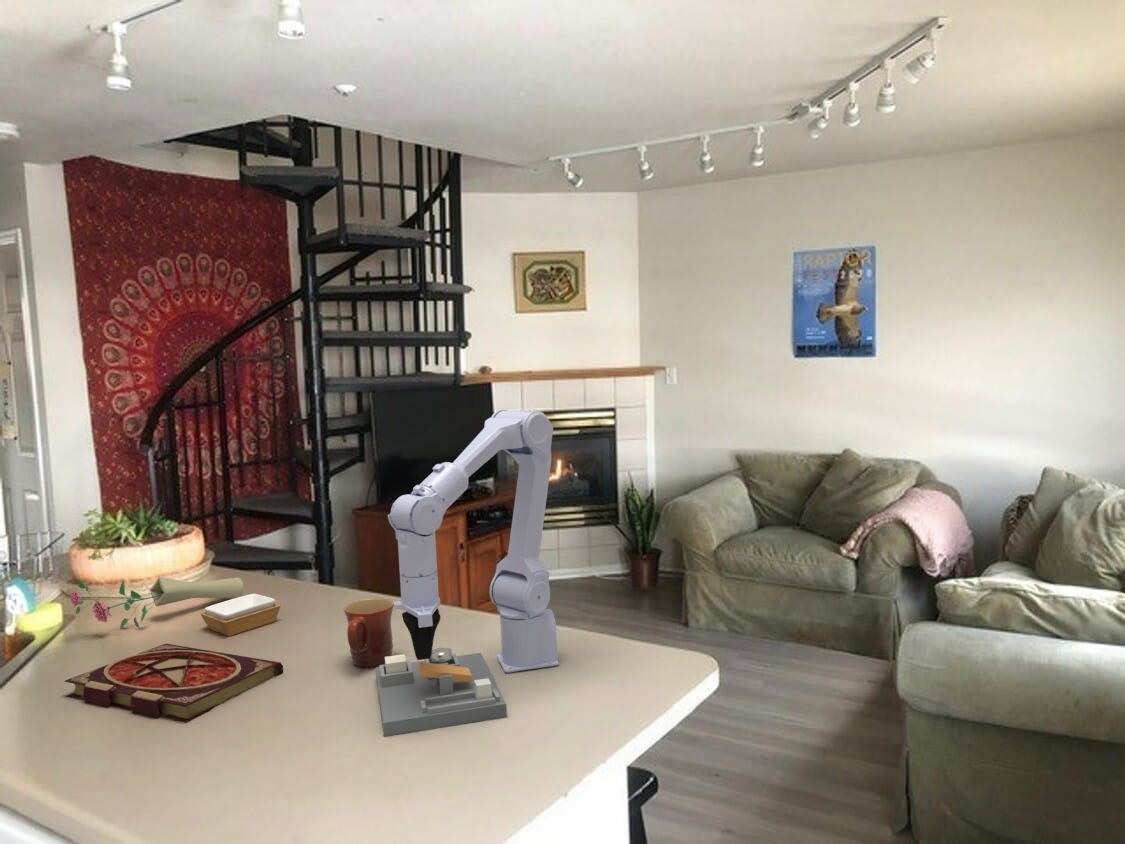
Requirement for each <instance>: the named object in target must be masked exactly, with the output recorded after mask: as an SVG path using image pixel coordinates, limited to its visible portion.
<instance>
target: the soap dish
mask: <svg viewBox="0 0 1125 844" xmlns="http://www.w3.org/2000/svg"><path fill="white" fill-rule="evenodd" d="M280 609H281V605H280V604H279V603H278V604H277V603H276V599H275V598H272V597H269V596H266V595H262V594H258V593H249V594H246V595H241V597H238V598H234V599H229V600H225V601H222V602H219V603H218V602H217V603H215V604H212V605H210V606H206V607H205V608H204V612H201V613H200V616H201V618H202V619H203V622H205V624H206V626H207V628H208V629H209V630H211V631H213V632H217V633H220V634H221V635H225V636H227V637H232V636H233V637H234V635H237V634H240V633H243V632H247V631H250V630H253V629H255V628H258V627H262V626H264V625H267V624H272V623H274V622H276V619H277V617H278V614H279V612H280Z"/></svg>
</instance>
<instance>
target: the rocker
mask: <svg viewBox="0 0 1125 844" xmlns="http://www.w3.org/2000/svg"><path fill="white" fill-rule="evenodd" d="M418 671H419V674H420V676H422V677H431V678H439V676H442V675H449V674H452V675H453V680H458V681H467V682H471V678H472V675H471V672H470V670H469V668H468V667H459V666H451V665H442V664H433V663H425V662H419V665H418Z"/></svg>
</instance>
